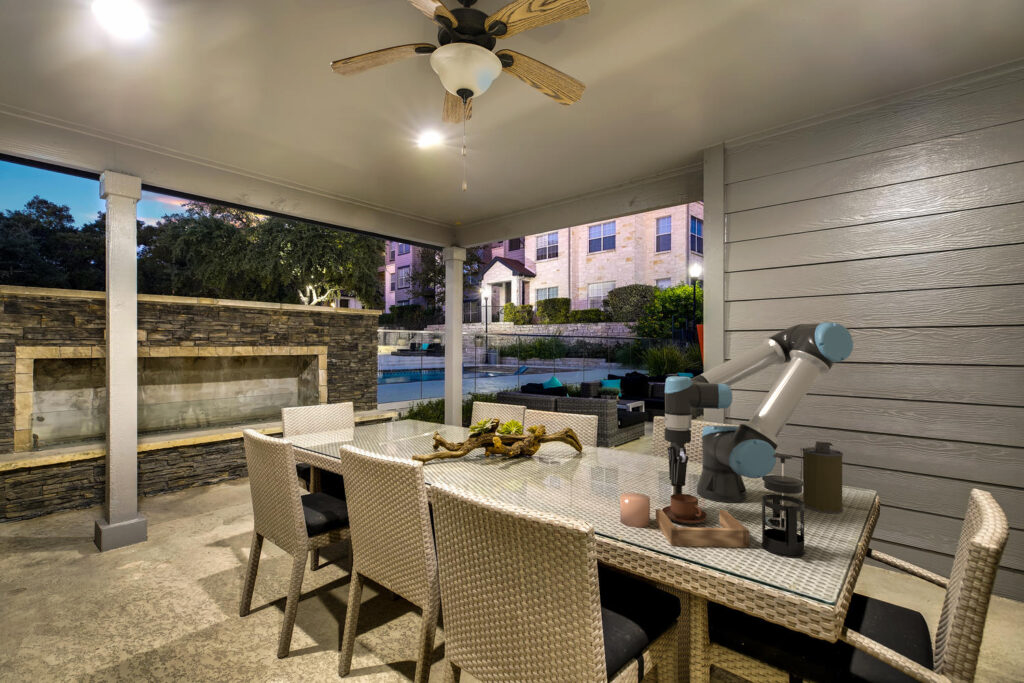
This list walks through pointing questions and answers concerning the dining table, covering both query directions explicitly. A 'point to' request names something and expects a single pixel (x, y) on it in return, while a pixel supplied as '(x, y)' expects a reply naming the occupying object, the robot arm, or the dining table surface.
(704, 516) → the cup and saucer
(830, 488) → the canister
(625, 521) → the peach rounded capsule
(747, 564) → the dining table surface
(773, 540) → the french press
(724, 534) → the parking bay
